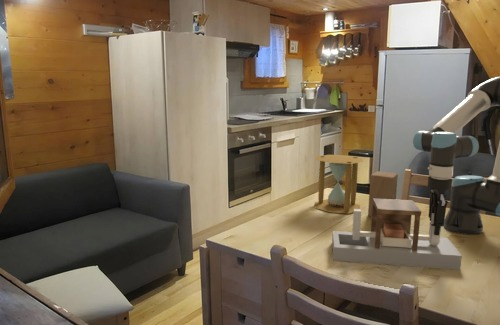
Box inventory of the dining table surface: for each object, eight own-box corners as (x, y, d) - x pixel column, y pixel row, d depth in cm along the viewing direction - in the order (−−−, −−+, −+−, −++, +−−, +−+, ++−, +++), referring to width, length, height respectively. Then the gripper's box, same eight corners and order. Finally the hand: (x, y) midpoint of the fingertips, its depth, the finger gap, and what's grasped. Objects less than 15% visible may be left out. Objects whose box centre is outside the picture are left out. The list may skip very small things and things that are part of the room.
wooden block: (394, 214, 197) (398, 173, 193) (389, 220, 189) (392, 177, 185) (373, 210, 202) (376, 170, 198) (367, 216, 194) (370, 174, 190)
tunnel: (409, 237, 156) (412, 199, 153) (417, 251, 142) (421, 211, 140) (370, 234, 158) (372, 197, 155) (375, 248, 145) (378, 209, 142)
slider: (433, 239, 153) (436, 210, 150) (440, 249, 143) (444, 219, 141) (351, 234, 157) (352, 206, 155) (353, 243, 148) (355, 214, 146)
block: (399, 239, 153) (400, 224, 152) (402, 246, 147) (404, 230, 146) (382, 238, 154) (383, 223, 152) (385, 245, 148) (386, 229, 147)
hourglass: (366, 204, 212) (369, 156, 206) (353, 217, 193) (356, 164, 188) (323, 197, 223) (325, 152, 218) (306, 208, 205) (307, 159, 200)
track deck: (446, 250, 156) (447, 238, 155) (460, 269, 140) (461, 255, 139) (332, 243, 162) (332, 231, 161) (333, 260, 147) (334, 247, 146)
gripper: (423, 171, 151) (417, 232, 156) (434, 182, 136) (428, 249, 141) (445, 172, 150) (438, 234, 155) (459, 183, 135) (451, 250, 140)
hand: (433, 241), depth 148 cm, fingers closed on slider, 2 cm apart
